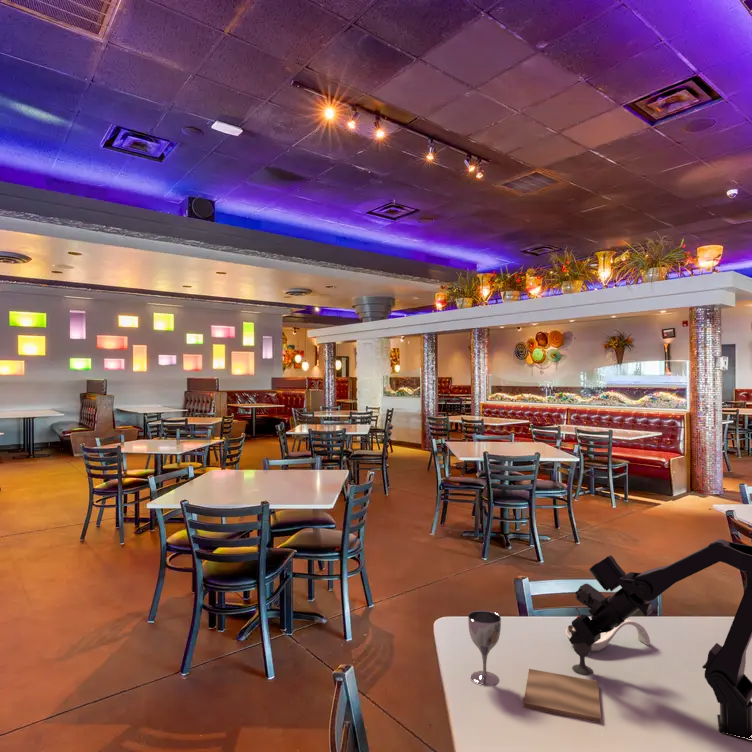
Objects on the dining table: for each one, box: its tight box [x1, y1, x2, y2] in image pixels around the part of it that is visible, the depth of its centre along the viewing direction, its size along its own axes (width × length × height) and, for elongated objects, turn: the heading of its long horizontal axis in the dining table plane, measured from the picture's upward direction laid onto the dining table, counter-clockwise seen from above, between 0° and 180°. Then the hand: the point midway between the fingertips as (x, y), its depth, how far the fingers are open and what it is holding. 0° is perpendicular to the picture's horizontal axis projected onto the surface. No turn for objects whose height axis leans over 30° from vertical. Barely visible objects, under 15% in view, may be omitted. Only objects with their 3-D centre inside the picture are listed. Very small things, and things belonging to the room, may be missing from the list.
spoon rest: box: [564, 617, 651, 652], centre depth 148 cm, size 24×12×7 cm, turn 99°
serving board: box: [522, 668, 602, 724], centre depth 122 cm, size 16×16×1 cm
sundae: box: [567, 607, 594, 676], centre depth 134 cm, size 7×7×15 cm
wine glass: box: [467, 609, 502, 687], centre depth 130 cm, size 8×8×15 cm
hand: (576, 637), depth 135 cm, fingers closed on sundae, 6 cm apart
